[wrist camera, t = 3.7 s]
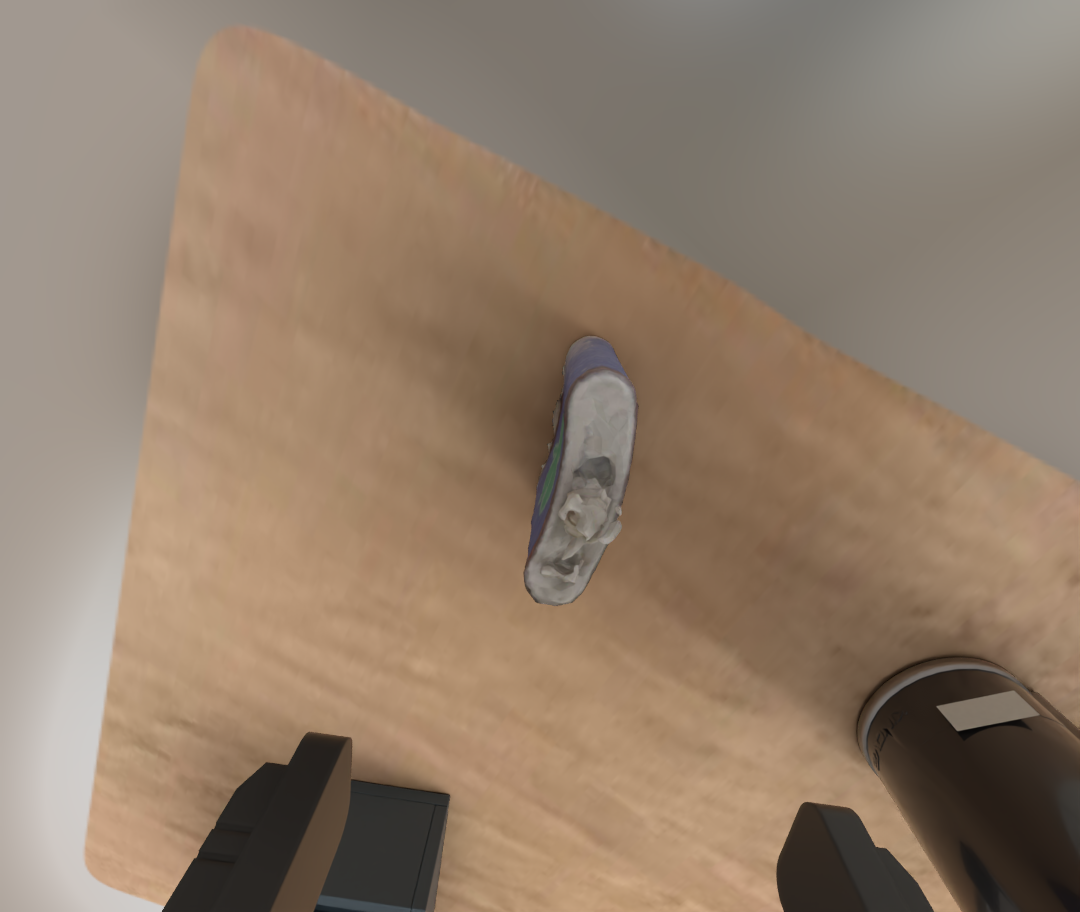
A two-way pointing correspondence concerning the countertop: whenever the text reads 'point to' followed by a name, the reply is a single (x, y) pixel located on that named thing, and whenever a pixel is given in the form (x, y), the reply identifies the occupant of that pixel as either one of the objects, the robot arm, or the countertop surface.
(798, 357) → the countertop surface
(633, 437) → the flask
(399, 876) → the box
